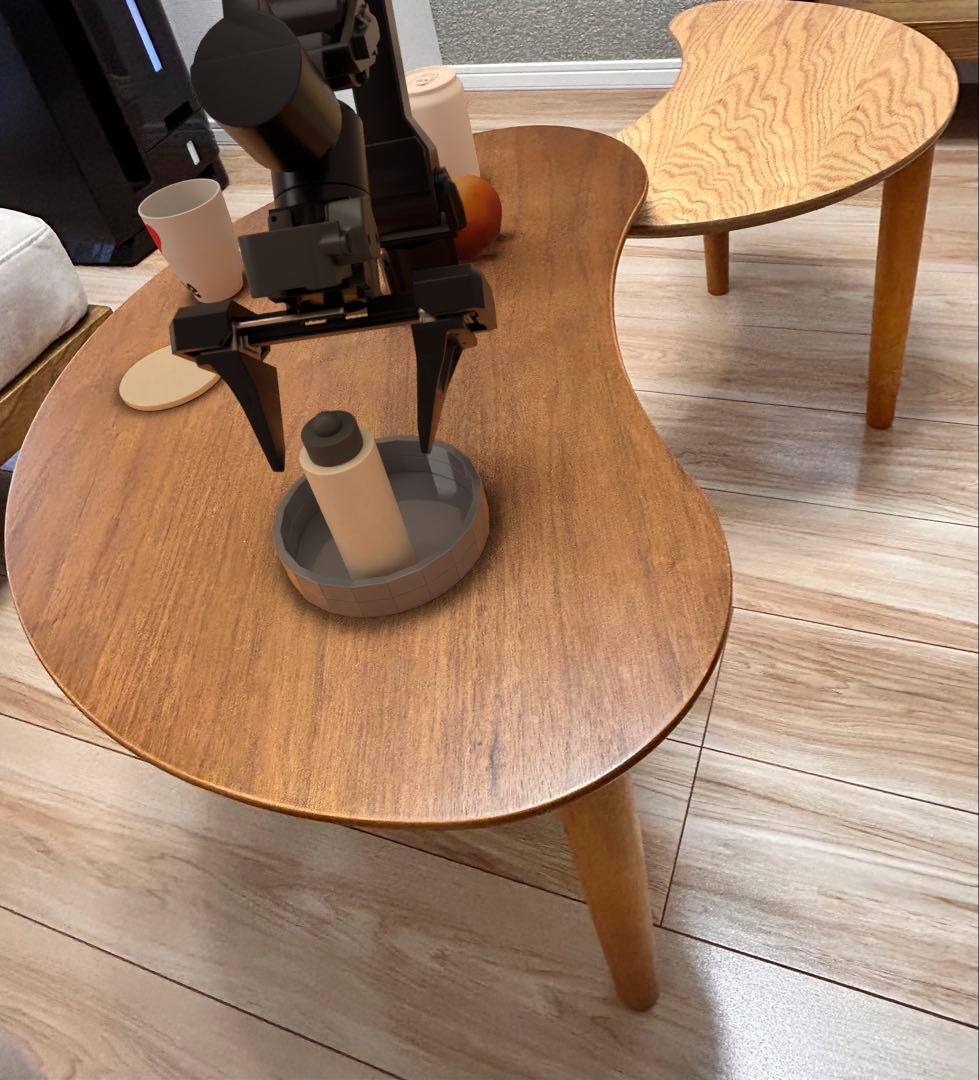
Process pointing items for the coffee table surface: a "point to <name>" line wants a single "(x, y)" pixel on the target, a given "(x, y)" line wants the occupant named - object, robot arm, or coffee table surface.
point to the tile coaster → (164, 381)
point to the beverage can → (444, 117)
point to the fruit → (478, 217)
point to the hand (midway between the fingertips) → (351, 463)
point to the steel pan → (431, 522)
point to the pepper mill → (355, 495)
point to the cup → (196, 237)
